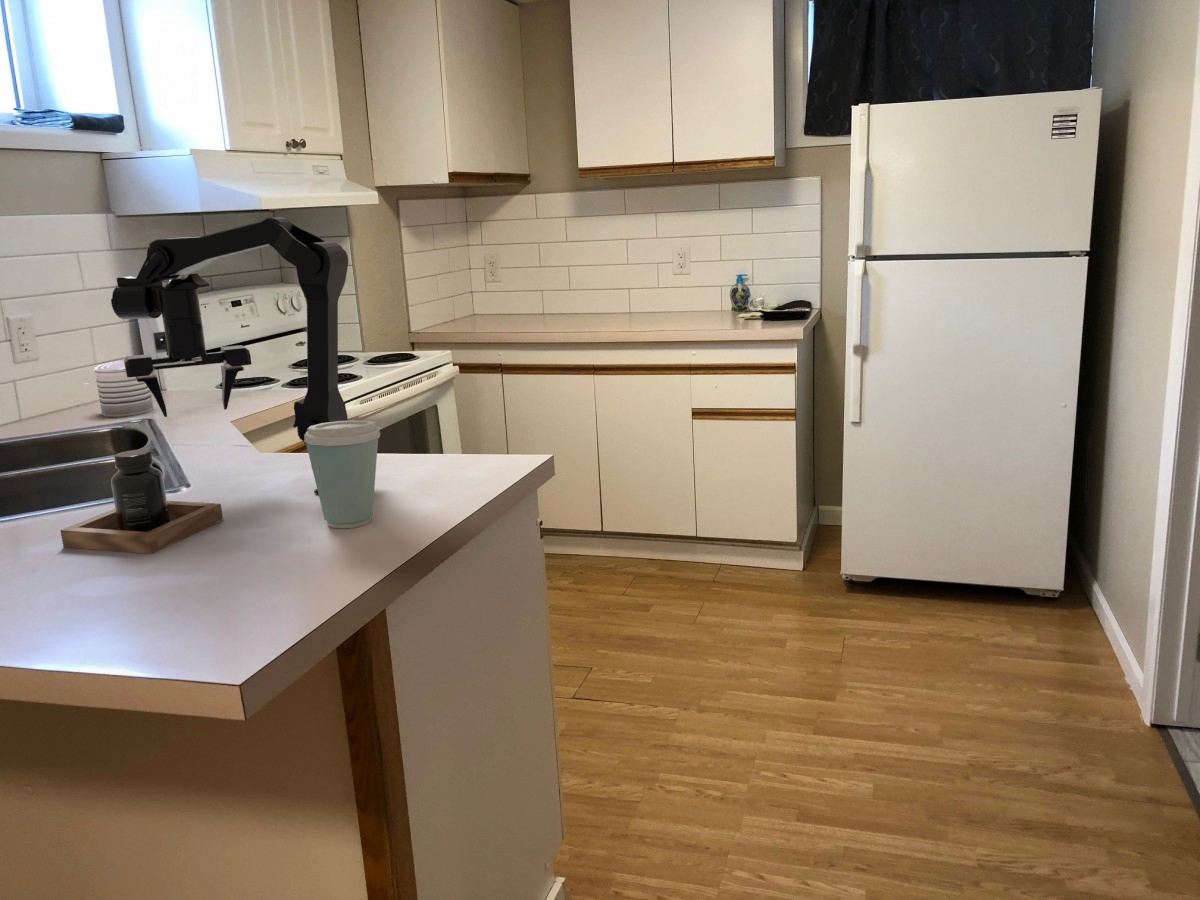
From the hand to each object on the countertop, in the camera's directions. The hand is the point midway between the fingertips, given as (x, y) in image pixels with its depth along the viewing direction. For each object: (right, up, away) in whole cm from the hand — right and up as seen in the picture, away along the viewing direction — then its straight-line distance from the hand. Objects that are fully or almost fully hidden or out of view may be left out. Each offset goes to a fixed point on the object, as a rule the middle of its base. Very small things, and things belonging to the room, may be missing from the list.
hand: (195, 412), depth 161 cm
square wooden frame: (+1, -18, -19) cm, 26 cm away
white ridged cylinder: (-48, +3, +75) cm, 89 cm away
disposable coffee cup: (+30, -17, -18) cm, 39 cm away
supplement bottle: (+1, -18, -19) cm, 27 cm away
